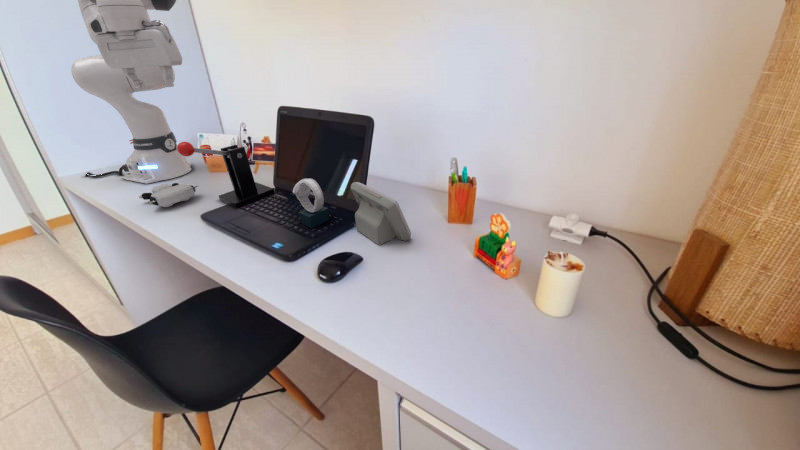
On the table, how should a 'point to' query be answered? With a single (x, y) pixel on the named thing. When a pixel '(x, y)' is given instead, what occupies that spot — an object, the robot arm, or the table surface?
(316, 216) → the ring sculpture on base
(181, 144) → the switch lever
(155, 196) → the robot toy
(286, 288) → the table surface
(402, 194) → the table surface
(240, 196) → the switch bracket
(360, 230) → the digital clock
